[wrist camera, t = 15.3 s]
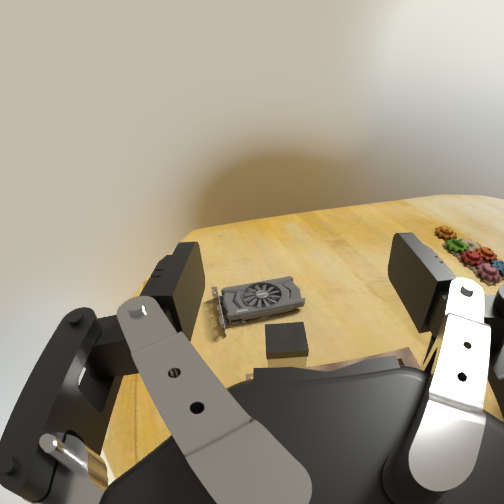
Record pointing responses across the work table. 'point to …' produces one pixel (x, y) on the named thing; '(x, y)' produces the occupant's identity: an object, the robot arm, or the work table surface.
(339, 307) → the work table surface
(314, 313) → the work table surface
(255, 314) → the graphics card
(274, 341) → the peg
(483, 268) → the gear puzzle
